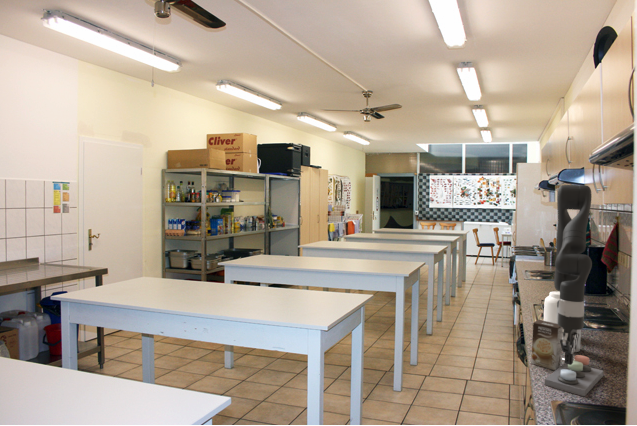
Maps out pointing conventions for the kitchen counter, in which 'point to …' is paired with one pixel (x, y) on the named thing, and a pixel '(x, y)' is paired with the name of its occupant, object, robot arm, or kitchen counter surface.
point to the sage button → (576, 366)
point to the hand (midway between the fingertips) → (568, 363)
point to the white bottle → (551, 306)
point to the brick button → (582, 359)
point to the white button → (568, 374)
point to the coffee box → (546, 344)
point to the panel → (578, 386)
